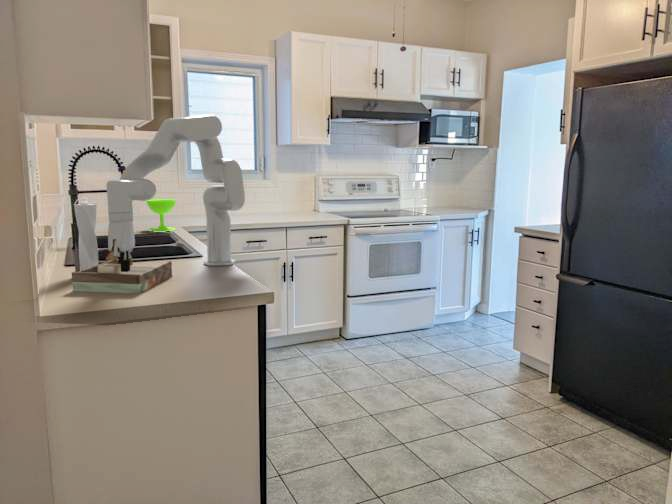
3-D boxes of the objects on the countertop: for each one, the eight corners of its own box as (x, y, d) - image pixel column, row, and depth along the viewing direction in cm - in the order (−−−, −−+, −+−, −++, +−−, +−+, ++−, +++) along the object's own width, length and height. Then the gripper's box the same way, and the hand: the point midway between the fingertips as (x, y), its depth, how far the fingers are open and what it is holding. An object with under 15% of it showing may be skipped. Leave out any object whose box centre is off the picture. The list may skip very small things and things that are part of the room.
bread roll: (133, 274, 211) (140, 255, 213) (110, 266, 204) (117, 247, 205) (121, 270, 218) (128, 252, 219) (98, 263, 210) (105, 244, 212)
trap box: (113, 274, 194) (112, 258, 193) (172, 276, 192) (171, 259, 191) (72, 291, 169) (71, 272, 168) (139, 293, 167) (138, 274, 166)
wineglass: (179, 231, 311) (178, 200, 308) (151, 233, 303) (150, 201, 300) (172, 228, 325) (171, 199, 322) (145, 229, 316) (143, 199, 313)
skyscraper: (77, 272, 195) (72, 196, 191) (101, 271, 198) (97, 196, 194) (75, 277, 188) (69, 198, 183) (100, 276, 190) (95, 198, 186)
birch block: (106, 278, 173) (105, 263, 172) (121, 279, 173) (120, 264, 172) (98, 282, 168) (97, 266, 168) (113, 282, 168) (112, 267, 167)
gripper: (121, 214, 183) (124, 266, 187) (98, 219, 169) (102, 275, 172) (141, 214, 183) (145, 266, 186) (120, 220, 168) (124, 276, 171)
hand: (124, 271), depth 179 cm, fingers closed
